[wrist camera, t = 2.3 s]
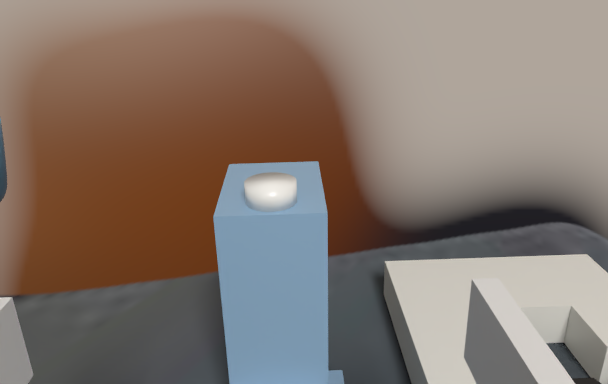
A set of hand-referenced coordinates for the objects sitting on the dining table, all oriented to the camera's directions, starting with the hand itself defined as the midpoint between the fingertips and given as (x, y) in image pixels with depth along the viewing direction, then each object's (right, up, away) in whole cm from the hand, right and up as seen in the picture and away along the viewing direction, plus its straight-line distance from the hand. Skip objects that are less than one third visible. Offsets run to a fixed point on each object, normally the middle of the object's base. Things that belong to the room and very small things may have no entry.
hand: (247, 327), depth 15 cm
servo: (0, -9, +16) cm, 18 cm away
